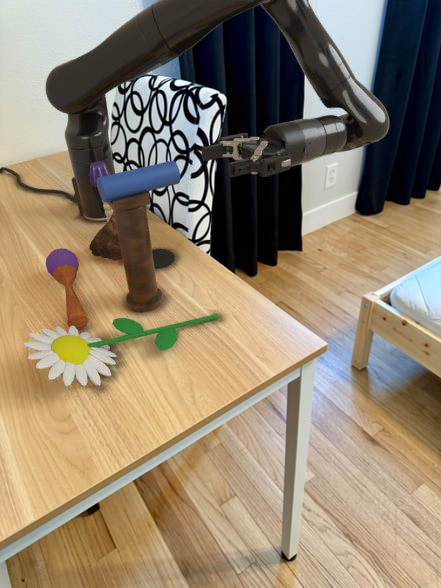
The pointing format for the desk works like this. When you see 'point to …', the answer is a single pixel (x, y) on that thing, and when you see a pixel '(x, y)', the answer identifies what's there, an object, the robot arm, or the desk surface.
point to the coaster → (162, 258)
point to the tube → (138, 180)
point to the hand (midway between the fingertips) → (215, 162)
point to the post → (137, 251)
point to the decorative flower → (93, 348)
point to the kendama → (67, 284)
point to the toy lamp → (96, 171)
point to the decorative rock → (107, 242)
